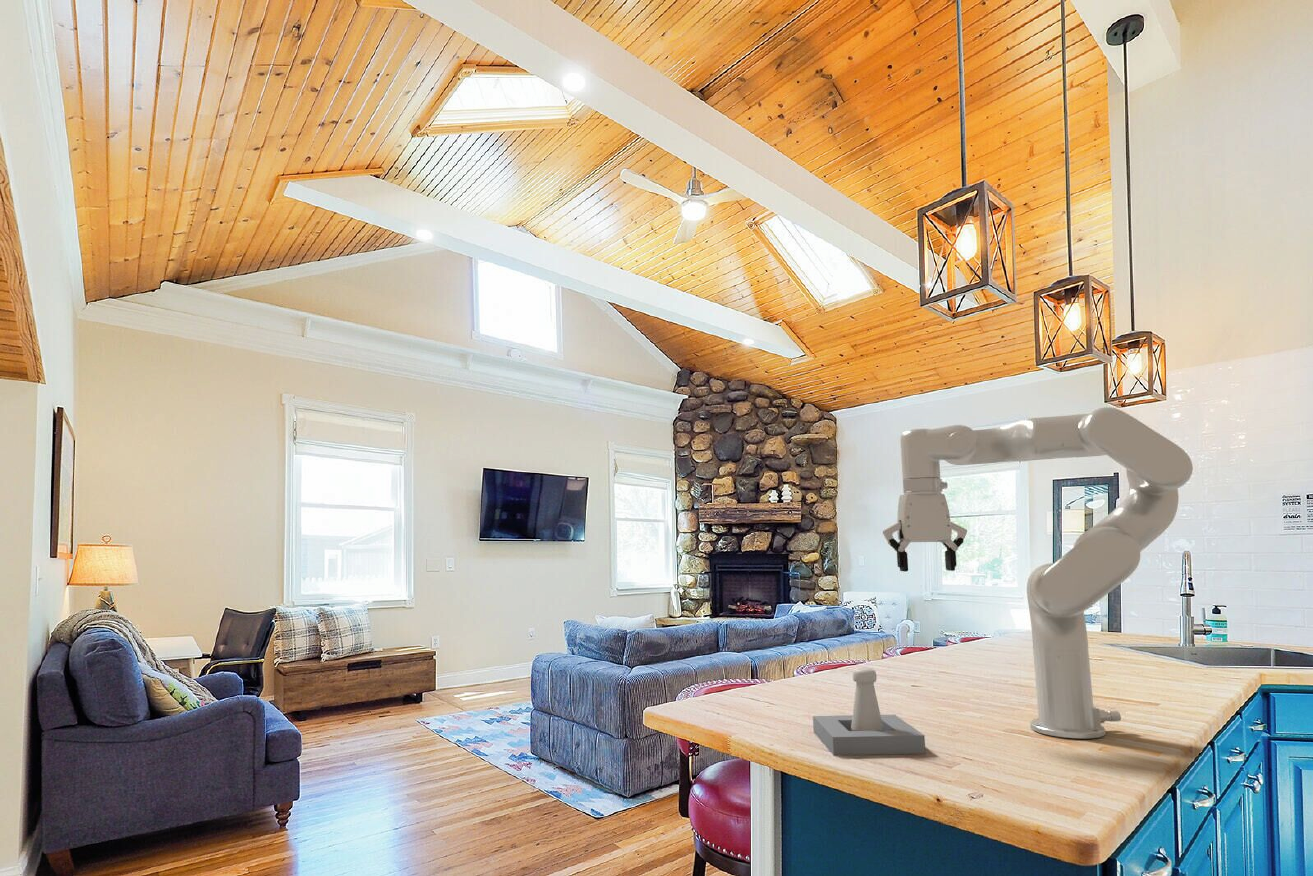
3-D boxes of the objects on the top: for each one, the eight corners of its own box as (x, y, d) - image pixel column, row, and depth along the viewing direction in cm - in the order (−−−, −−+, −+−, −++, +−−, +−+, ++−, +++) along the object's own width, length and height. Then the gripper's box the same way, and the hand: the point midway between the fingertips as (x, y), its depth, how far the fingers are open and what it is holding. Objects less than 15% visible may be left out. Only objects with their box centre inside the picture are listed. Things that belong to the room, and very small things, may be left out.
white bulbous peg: (885, 746, 135) (881, 671, 137) (852, 745, 137) (848, 671, 138) (882, 738, 141) (879, 666, 143) (851, 737, 142) (847, 665, 144)
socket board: (895, 730, 147) (894, 714, 147) (925, 753, 131) (924, 735, 131) (813, 732, 147) (812, 716, 147) (833, 755, 131) (832, 737, 131)
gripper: (955, 488, 162) (961, 569, 160) (875, 490, 162) (880, 570, 160) (970, 486, 155) (976, 570, 152) (886, 487, 155) (891, 572, 152)
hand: (927, 570), depth 156 cm, fingers open, 9 cm apart
